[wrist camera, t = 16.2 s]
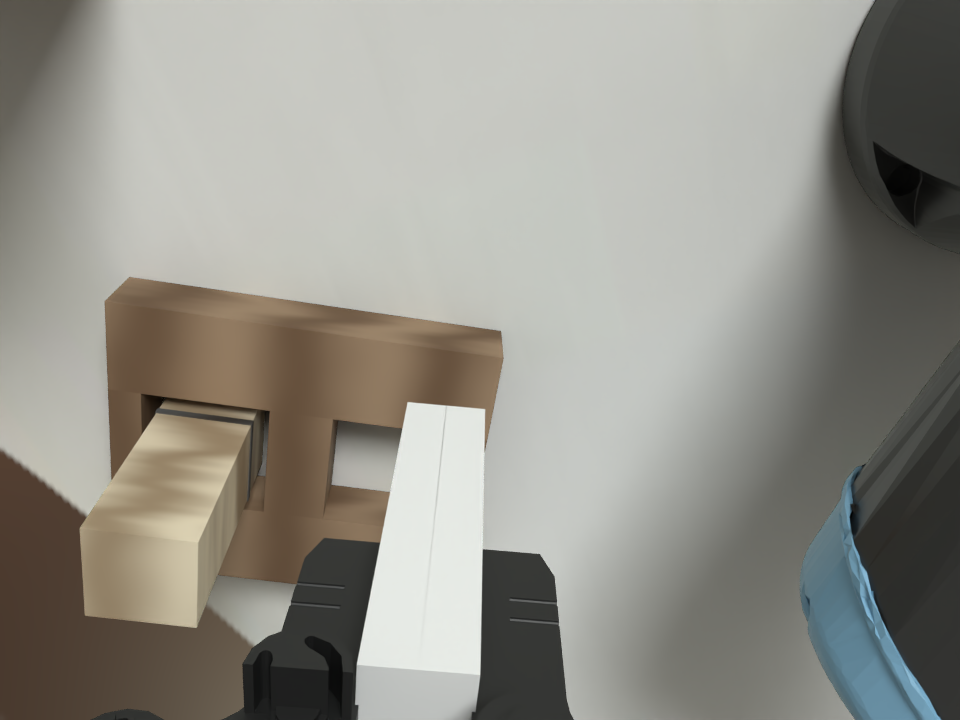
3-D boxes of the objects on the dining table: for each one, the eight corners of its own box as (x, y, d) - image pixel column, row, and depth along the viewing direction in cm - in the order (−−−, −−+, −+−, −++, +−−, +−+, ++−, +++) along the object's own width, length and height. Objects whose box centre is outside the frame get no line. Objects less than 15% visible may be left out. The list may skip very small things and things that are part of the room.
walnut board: (500, 331, 41) (503, 358, 38) (455, 565, 47) (454, 602, 45) (129, 277, 39) (104, 301, 37) (135, 527, 46) (114, 563, 43)
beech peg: (267, 390, 42) (199, 541, 31) (262, 463, 44) (198, 628, 33) (177, 378, 42) (78, 527, 31) (177, 452, 44) (83, 616, 33)
